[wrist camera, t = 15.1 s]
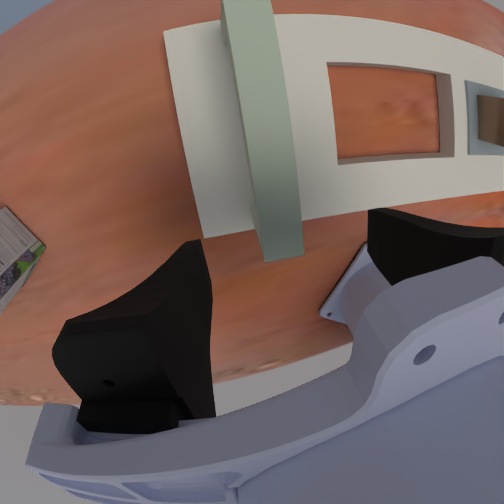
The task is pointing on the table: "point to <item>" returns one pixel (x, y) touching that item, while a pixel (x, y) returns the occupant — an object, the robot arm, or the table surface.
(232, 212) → the puzzle board
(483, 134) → the walnut block
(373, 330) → the robot arm
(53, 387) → the table surface
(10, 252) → the syrup box
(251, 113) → the sliding bridge
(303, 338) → the table surface
